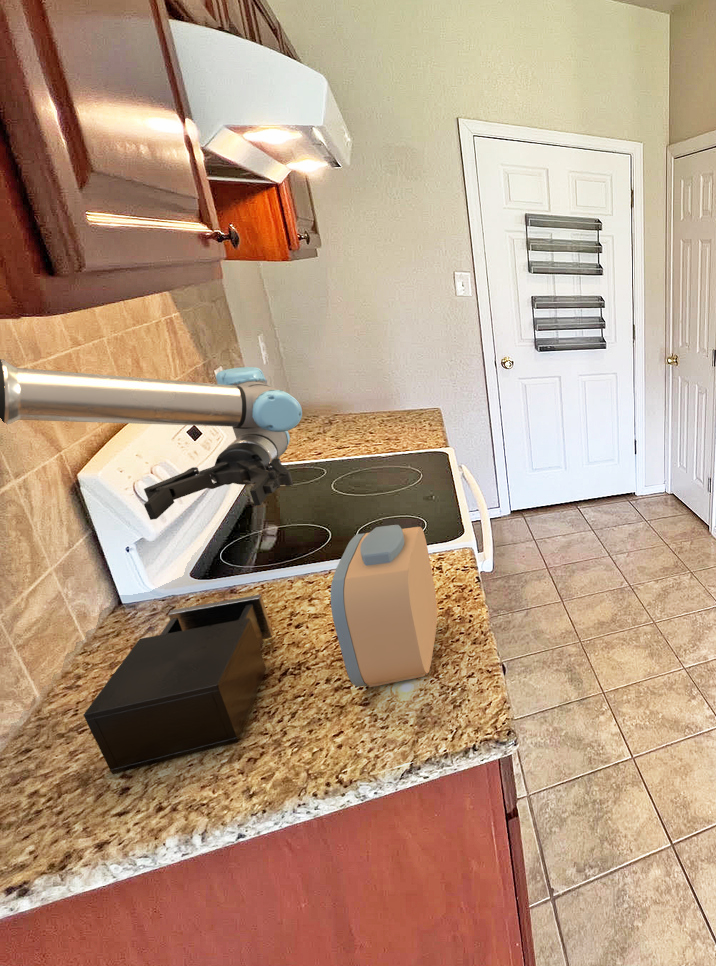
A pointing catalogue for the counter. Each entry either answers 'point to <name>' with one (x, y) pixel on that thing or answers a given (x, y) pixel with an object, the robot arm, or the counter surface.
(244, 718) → the cabinet
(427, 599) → the alarm clock
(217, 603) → the drawer
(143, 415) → the robot arm
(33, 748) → the counter surface
